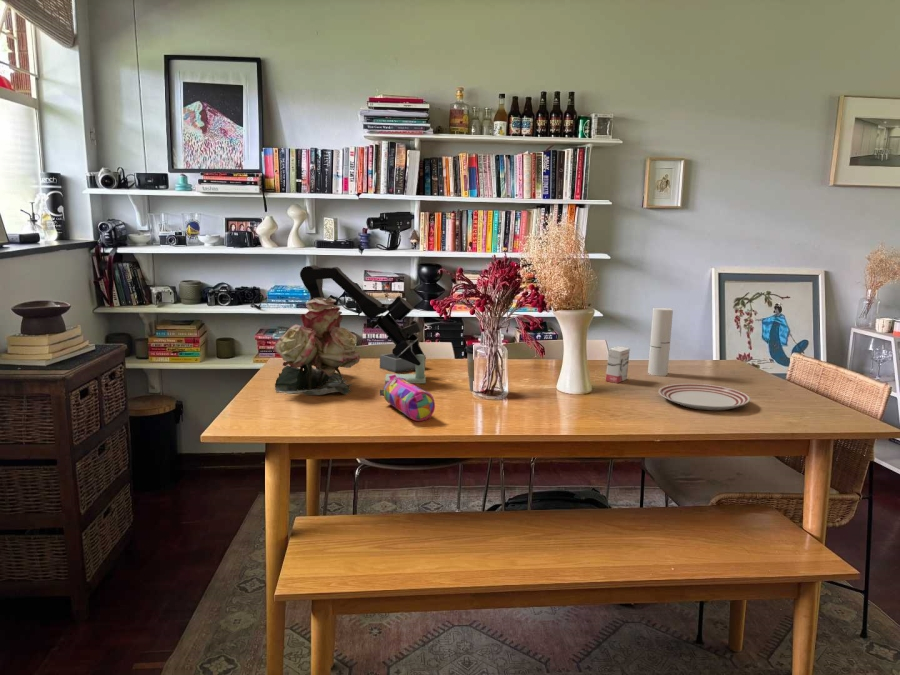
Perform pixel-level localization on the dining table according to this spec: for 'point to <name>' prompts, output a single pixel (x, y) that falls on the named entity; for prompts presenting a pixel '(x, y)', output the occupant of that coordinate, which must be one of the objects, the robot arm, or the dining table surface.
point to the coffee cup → (470, 365)
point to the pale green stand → (413, 378)
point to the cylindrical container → (660, 341)
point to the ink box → (617, 364)
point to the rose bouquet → (316, 351)
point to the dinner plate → (704, 396)
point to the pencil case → (408, 398)
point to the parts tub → (395, 363)
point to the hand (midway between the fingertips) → (422, 362)
